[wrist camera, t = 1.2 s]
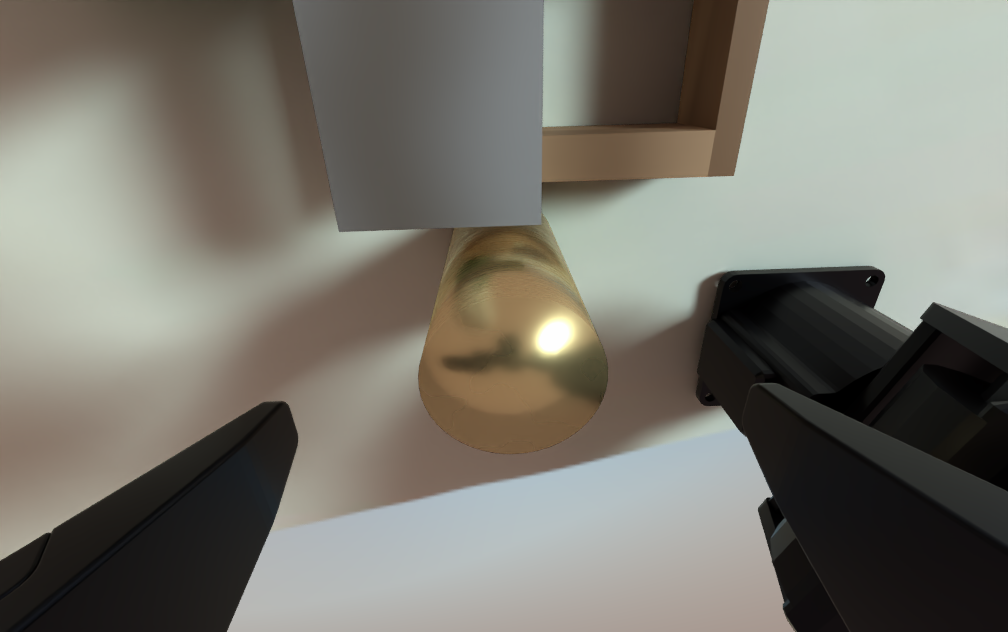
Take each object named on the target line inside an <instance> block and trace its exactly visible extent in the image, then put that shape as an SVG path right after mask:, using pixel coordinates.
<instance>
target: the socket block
mask: <svg viewBox="0 0 1008 632" xmlns="http://www.w3.org/2000/svg"><path fill="white" fill-rule="evenodd" d="M292 1H293V6H294V11H295V16H296V21H297V26H298V31H299V36H300V41H301V46H302V51H303V56H304V61H305V66H306V71H307V76H308V81H309V86H310V91H311V96H312V101H313V106H314V110H315V115H316V120H317V125H318V130H319V135H320V140H321V145H322V150H323V155H324V160H325V165H326V170H327V175H328V180H329V185H330V190H331V195H332V200H333V205H334V210H335V215H336V220H337V225H338V230H339V232H348V231H377V230H406V229H434V228H463V227H491V226H520V225H541V202H542V182H564V181H594V180H624V179H653V178H683V177H712V176H734V173H735V168H736V163H737V158H738V153H739V148H740V143H741V138H742V133H743V128H744V123H745V118H746V113H747V108H748V103H749V98H750V93H751V88H752V83H753V78H754V73H755V68H756V63H757V58H758V53H759V48H760V43H761V38H762V33H763V28H764V23H765V19H766V14H767V9H768V4H769V0H694V2H693V9H692V16H691V24H690V31H689V38H688V46H687V53H686V60H685V67H684V75H683V82H682V89H681V96H680V104H679V111H678V118H677V123H656V124H625V125H594V126H563V127H542V108H543V15H544V0H292Z"/></svg>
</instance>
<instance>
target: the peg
mask: <svg viewBox="0 0 1008 632" xmlns="http://www.w3.org/2000/svg"><path fill="white" fill-rule="evenodd" d="M418 381H419V390H420V394H421V398H422V401H423V403H424V406H425V408H426V409H427V411H428V413H429V415H430V416H431V417H432V419H433V420H434V421H435V422H436V424H437V425H438V426H439V427H440V428H441V429H443V430H444V431H445V432H446V433H447V434H449V435H450V436H451V437H453V438H455V439H456V440H458V441H460V442H461V443H464V444H466V445H468V446H470V447H473V448H476V449H479V450H483V451H488V452H492V453H501V454H519V453H528V452H533V451H538V450H541V449H545V448H548V447H551V446H553V445H555V444H558V443H560V442H562V441H564V440H565V439H567V438H569V437H570V436H572V435H573V434H575V433H576V432H578V431H579V430H580V429H581V428H582V427H583V426H584V425H585V424H586V423H587V422H588V421H589V420H590V419H591V418H592V417H593V415H594V414H595V412H596V411H597V409H598V408H599V406H600V404H601V402H602V400H603V397H604V394H605V391H606V387H607V381H608V366H607V359H606V356H605V353H604V349H603V347H602V345H601V342H600V340H599V338H598V335H597V333H596V331H595V329H594V326H593V324H592V322H591V319H590V317H589V315H588V312H587V310H586V308H585V306H584V303H583V301H582V299H581V296H580V294H579V292H578V289H577V287H576V285H575V283H574V280H573V278H572V276H571V273H570V271H569V269H568V266H567V264H566V262H565V260H564V257H563V255H562V253H561V250H560V248H559V246H558V244H557V241H556V239H555V237H554V234H553V232H552V230H551V227H550V225H549V223H548V221H547V220H546V218H545V217H544V215H543V214H542V213H541V225H520V226H491V227H463V228H454V231H453V235H452V239H451V243H450V247H449V251H448V254H447V258H446V262H445V266H444V270H443V274H442V278H441V282H440V286H439V290H438V294H437V298H436V302H435V306H434V310H433V314H432V318H431V322H430V326H429V330H428V334H427V338H426V342H425V345H424V349H423V353H422V357H421V361H420V365H419V374H418Z"/></svg>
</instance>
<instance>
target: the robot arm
mask: <svg viewBox="0 0 1008 632" xmlns="http://www.w3.org/2000/svg"><path fill="white" fill-rule="evenodd" d="M870 276H871V278H870V279H869V280H868V281H867V282H866V280H867V279H868V278H869V277H870ZM736 280H737V284H736V285H735V286H734V287H732V288H729V286H730V284H731V283H732V282H733V281H736ZM884 280H885V274H884V272H883V271H881V270H879V269H877V268H875V267H873V266H852V267H825V268H797V269H770V270H743V271H730V272H728V273H726V274H724V275H723V276H722V277H721V279H720V281H719V284H718V289H717V294H716V299H715V303H714V308H713V313H712V318H711V320H710V321H709V323H708V324H707V326H706V330H705V335H704V340H703V345H702V350H701V355H700V359H699V364H698V369H697V373H698V375H699V380H698V385H697V390H696V396H697V398H698V399H699V401H700V402H701V404H703V405H704V406H722V408H723V409H724V410H725V412H726V413H727V414H728V416H729V417H730V419H731V420H732V421H733V423H734V424H735V425H736V427H737V428H738V430H739V431H740V432H741V433H742V434H743V435H745V436H746V437H747V438H748V440H749V442H750V445H751V447H752V450H753V452H754V454H755V456H756V459H757V461H758V463H759V466H760V468H761V470H762V472H763V474H764V477H765V479H766V482H767V484H768V486H769V488H770V490H771V492H772V495H773V496H772V497H771V498H766V500H765V501H764V502H763V503H762V504H761V505H760V506H759V508H758V512H759V516H760V519H761V523H762V526H763V529H764V533H765V536H766V540H767V544H768V547H769V550H770V554H771V557H772V563H773V566H774V568H775V571H776V575H777V578H778V582H779V585H780V588H781V592H782V595H783V599H784V604H783V610H784V613H785V616H786V618H787V621H788V622H789V624H790V625H791V626H792V628H793V630H794V631H795V632H1008V329H1007V328H1005V327H1002V326H999V325H996V324H993V323H991V322H988V321H985V320H982V319H980V318H977V317H974V316H971V315H968V314H966V313H963V312H960V311H957V310H955V309H952V308H949V307H946V306H943V305H941V304H938V303H935V302H933V303H932V304H931V305H930V307H929V308H928V309H927V310H926V311H925V313H924V314H923V315H922V316H921V317H920V319H922V320H923V321H922V322H921V323H920V325H919V326H918V327H917V328H916V329H915V330H914V332H913V331H912V330H910V329H908V328H906V327H905V326H903V325H901V324H899V323H898V322H896V321H894V320H893V319H891V318H889V317H887V316H886V315H884V314H882V313H880V312H879V311H877V310H875V309H874V306H875V304H876V301H877V298H878V296H879V293H880V291H881V288H882V286H883V283H884ZM708 393H711V394H710V395H709V396H706V395H707V394H708ZM297 446H298V433H297V430H296V426H295V423H294V420H293V417H292V413H291V410H290V407H289V405H288V404H287V403H286V402H284V401H275V402H263V403H261V404H259V405H258V406H256V407H254V408H253V409H251V410H249V411H248V412H246V413H244V414H243V415H241V416H239V417H238V418H236V419H234V420H233V421H231V422H230V423H228V424H226V425H225V426H223V427H221V428H220V429H218V430H216V431H215V432H213V433H211V434H210V435H208V436H206V437H205V438H203V439H201V440H200V441H198V442H196V443H195V444H193V445H191V446H190V447H188V448H186V449H185V450H183V451H182V452H180V453H178V454H177V455H175V456H173V457H172V458H170V459H168V460H167V461H165V462H163V463H162V464H160V465H158V466H157V467H155V468H153V469H152V470H150V471H148V472H147V473H145V474H143V475H142V476H140V477H138V478H137V479H135V480H134V481H132V482H130V483H129V484H127V485H125V486H124V487H122V488H120V489H119V490H117V491H115V492H114V493H112V494H110V495H109V496H107V497H105V498H104V499H102V500H100V501H99V502H97V503H95V504H94V505H92V506H91V507H89V508H87V509H86V510H84V511H82V512H81V513H79V514H77V515H76V516H74V517H72V518H71V519H69V520H67V521H66V522H64V523H62V524H61V525H59V526H57V527H56V528H54V529H53V531H52V533H46V534H44V535H42V536H41V537H39V538H37V539H36V540H34V541H32V542H31V543H29V544H27V545H26V546H24V547H23V548H21V549H19V550H18V551H16V552H14V553H13V554H11V555H9V556H7V557H6V558H4V559H2V560H1V561H0V632H227V630H228V628H229V625H230V623H231V621H232V618H233V616H234V613H235V611H236V609H237V607H238V604H239V602H240V600H241V597H242V595H243V593H244V590H245V588H246V585H247V583H248V581H249V578H250V576H251V574H252V572H253V569H254V567H255V565H256V562H257V560H258V558H259V555H260V553H261V551H262V548H263V546H264V544H265V541H266V539H267V537H268V534H269V532H270V530H271V527H272V525H273V522H274V520H275V517H276V514H277V511H278V508H279V505H280V501H281V498H282V495H283V492H284V488H285V485H286V482H287V479H288V475H289V472H290V469H291V466H292V462H293V459H294V456H295V453H296V449H297Z"/></svg>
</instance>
